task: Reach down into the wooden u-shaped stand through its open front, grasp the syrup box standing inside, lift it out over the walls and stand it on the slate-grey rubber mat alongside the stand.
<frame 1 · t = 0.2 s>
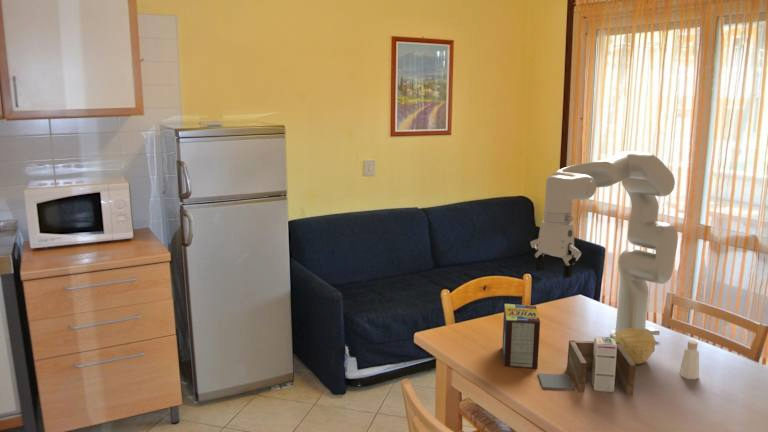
hand: (553, 273, 185), 31 cm above the table, tool pointing down, fingers open, 9 cm apart
wooden u-shaped stand: (599, 381, 183), on the table
syrup box: (602, 387, 180), on the table
salt shaker: (688, 376, 188), on the table
protein box: (519, 358, 200), on the table
mat: (555, 382, 182), on the table
sculpture: (631, 360, 199), on the table
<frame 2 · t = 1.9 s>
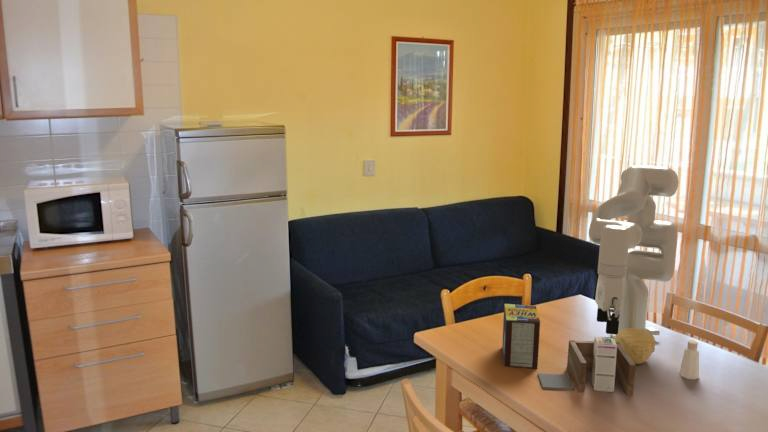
hand: (606, 327, 176), 19 cm above the table, tool pointing down, fingers open, 9 cm apart
nothing on the table moved.
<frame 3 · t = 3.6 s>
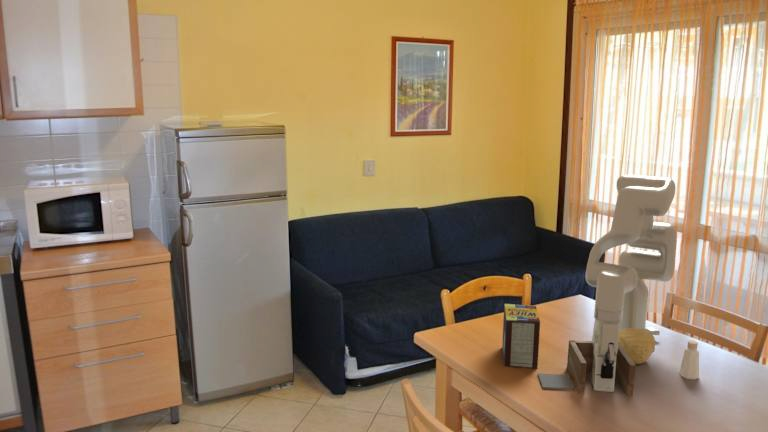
hand: (603, 372, 179), 5 cm above the table, tool pointing down, fingers closed on syrup box, 6 cm apart
syrup box: (602, 387, 180), on the table, touching gripper
everything else where it was.
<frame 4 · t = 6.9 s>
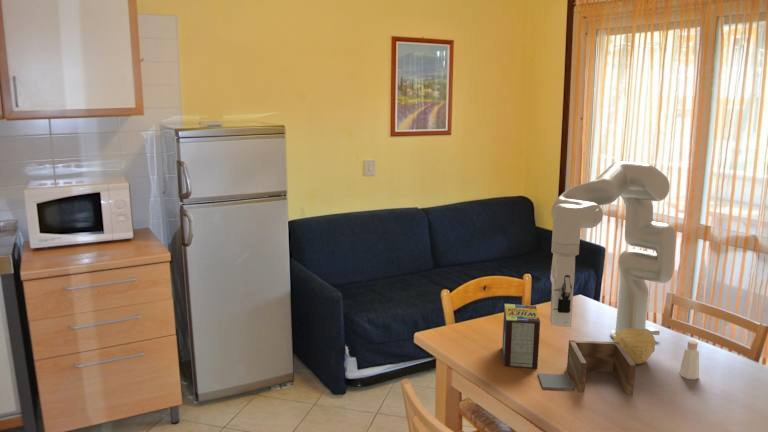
hand: (561, 307, 178), 23 cm above the table, tool pointing down, fingers closed on syrup box, 6 cm apart
syrup box: (560, 323, 179), point 18 cm above the table, touching gripper
everything else where it was.
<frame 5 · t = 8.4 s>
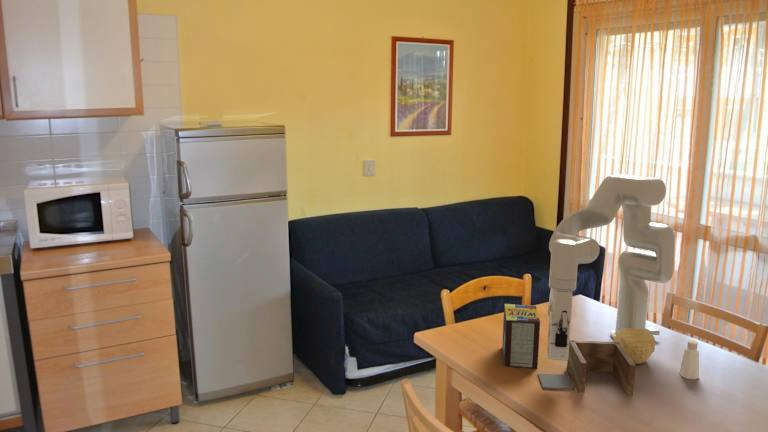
hand: (558, 341, 180), 13 cm above the table, tool pointing down, fingers closed on syrup box, 6 cm apart
syrup box: (557, 357, 181), point 8 cm above the table, touching gripper
everything else where it was.
when the fingers open (6 cm above the table, at t = 10.0 s): syrup box stays where it is, resting on mat.
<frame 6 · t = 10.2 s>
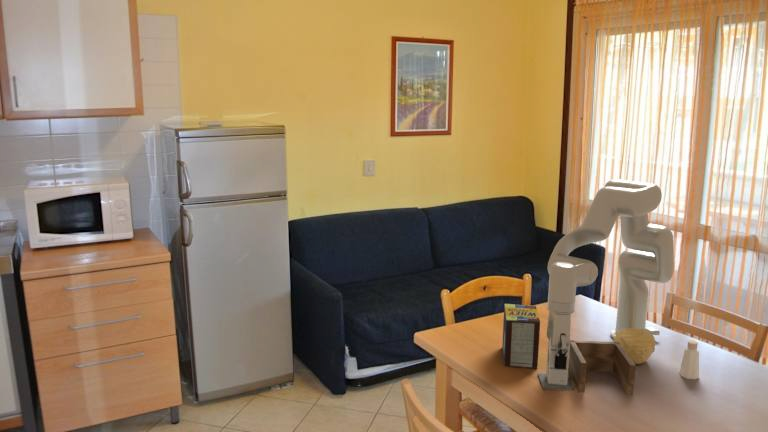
hand: (557, 361, 181), 7 cm above the table, tool pointing down, fingers open, 8 cm apart
syrup box: (556, 381, 182), resting on mat
everything else where it was.
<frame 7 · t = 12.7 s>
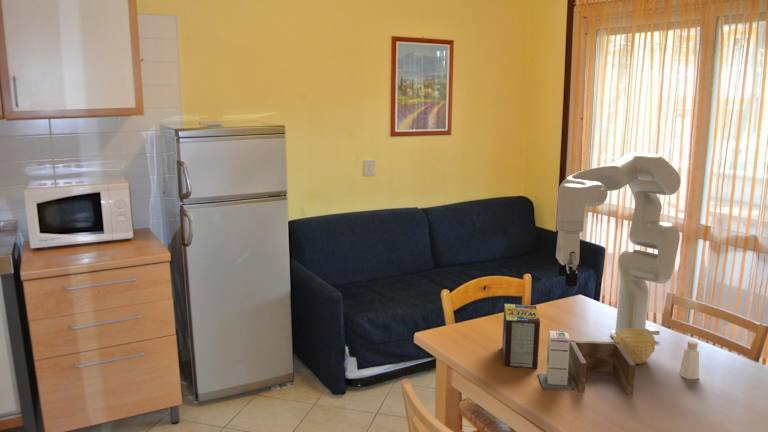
hand: (567, 280, 186), 28 cm above the table, tool pointing down, fingers open, 9 cm apart
nothing on the table moved.
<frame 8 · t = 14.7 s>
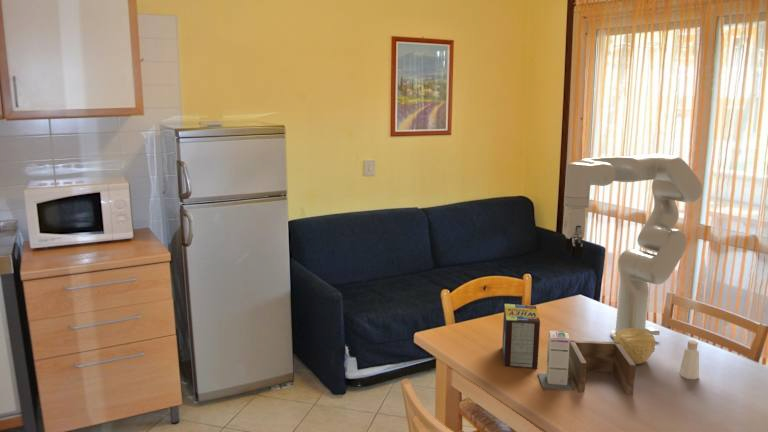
hand: (572, 254, 198), 33 cm above the table, tool pointing down, fingers open, 9 cm apart
nothing on the table moved.
at the end: syrup box inside the target area on the mat (0.2 cm from its centre), point 0.4 cm above the mat's base; syrup box tilted 0°; the gripper is holding nothing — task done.
